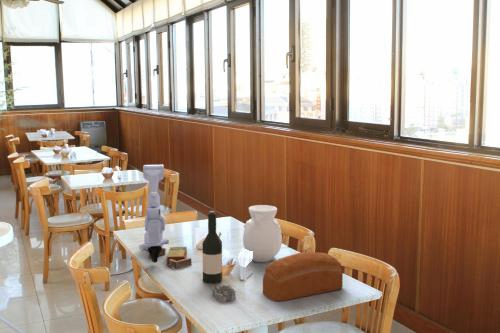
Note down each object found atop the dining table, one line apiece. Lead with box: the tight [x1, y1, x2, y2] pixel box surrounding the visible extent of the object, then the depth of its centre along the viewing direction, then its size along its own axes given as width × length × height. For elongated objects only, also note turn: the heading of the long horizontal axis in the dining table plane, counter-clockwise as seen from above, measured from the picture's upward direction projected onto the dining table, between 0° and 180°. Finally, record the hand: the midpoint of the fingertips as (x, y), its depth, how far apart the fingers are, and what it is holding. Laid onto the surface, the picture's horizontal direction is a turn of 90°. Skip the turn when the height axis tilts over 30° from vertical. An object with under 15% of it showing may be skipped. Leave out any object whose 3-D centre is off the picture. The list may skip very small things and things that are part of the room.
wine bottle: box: [201, 210, 223, 285], centre depth 243 cm, size 8×8×30 cm
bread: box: [262, 251, 344, 302], centre depth 233 cm, size 14×33×16 cm, turn 117°
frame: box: [148, 247, 192, 270], centre depth 271 cm, size 22×9×3 cm, turn 43°
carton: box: [166, 246, 188, 266], centre depth 274 cm, size 8×16×4 cm, turn 3°
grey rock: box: [211, 284, 237, 303], centre depth 227 cm, size 11×8×4 cm
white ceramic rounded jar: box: [242, 204, 283, 263], centre depth 272 cm, size 19×18×25 cm
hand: (154, 261), depth 265 cm, fingers closed
